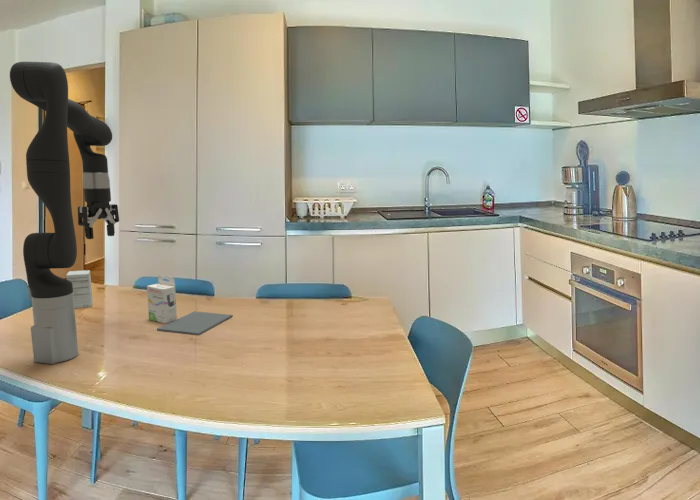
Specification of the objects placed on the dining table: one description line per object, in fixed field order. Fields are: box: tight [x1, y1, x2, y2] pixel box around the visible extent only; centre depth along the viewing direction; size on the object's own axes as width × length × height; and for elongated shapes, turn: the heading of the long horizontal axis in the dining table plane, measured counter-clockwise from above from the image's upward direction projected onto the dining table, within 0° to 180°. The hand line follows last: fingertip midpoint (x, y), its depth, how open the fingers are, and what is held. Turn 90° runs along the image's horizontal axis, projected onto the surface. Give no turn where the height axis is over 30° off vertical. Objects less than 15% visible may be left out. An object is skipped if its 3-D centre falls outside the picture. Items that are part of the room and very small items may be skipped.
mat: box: [156, 310, 233, 336], centre depth 153 cm, size 20×15×1 cm
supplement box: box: [65, 269, 94, 309], centre depth 172 cm, size 7×7×13 cm
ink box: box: [146, 274, 178, 324], centre depth 156 cm, size 9×5×15 cm, turn 62°
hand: (100, 237), depth 151 cm, fingers open, 8 cm apart
